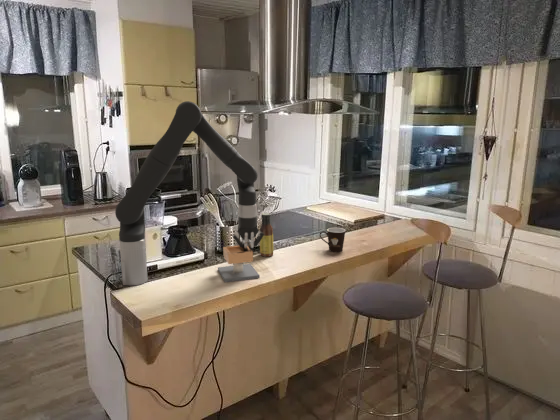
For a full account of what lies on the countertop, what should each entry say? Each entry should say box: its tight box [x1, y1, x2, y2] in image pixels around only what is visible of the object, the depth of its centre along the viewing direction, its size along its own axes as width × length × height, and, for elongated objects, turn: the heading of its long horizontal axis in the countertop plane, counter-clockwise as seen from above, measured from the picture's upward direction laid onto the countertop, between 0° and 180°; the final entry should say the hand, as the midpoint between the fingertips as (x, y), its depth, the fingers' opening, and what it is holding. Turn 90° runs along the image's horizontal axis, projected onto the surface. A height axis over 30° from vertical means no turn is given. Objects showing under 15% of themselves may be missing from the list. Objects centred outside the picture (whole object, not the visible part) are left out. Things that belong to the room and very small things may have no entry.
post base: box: [217, 262, 260, 283], centre depth 177 cm, size 14×14×5 cm
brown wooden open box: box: [222, 244, 254, 265], centre depth 176 cm, size 10×10×4 cm
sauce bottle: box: [259, 212, 275, 258], centre depth 199 cm, size 7×6×20 cm
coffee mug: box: [319, 227, 347, 253], centre depth 209 cm, size 12×9×10 cm
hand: (248, 256), depth 178 cm, fingers closed on brown wooden open box, 1 cm apart
